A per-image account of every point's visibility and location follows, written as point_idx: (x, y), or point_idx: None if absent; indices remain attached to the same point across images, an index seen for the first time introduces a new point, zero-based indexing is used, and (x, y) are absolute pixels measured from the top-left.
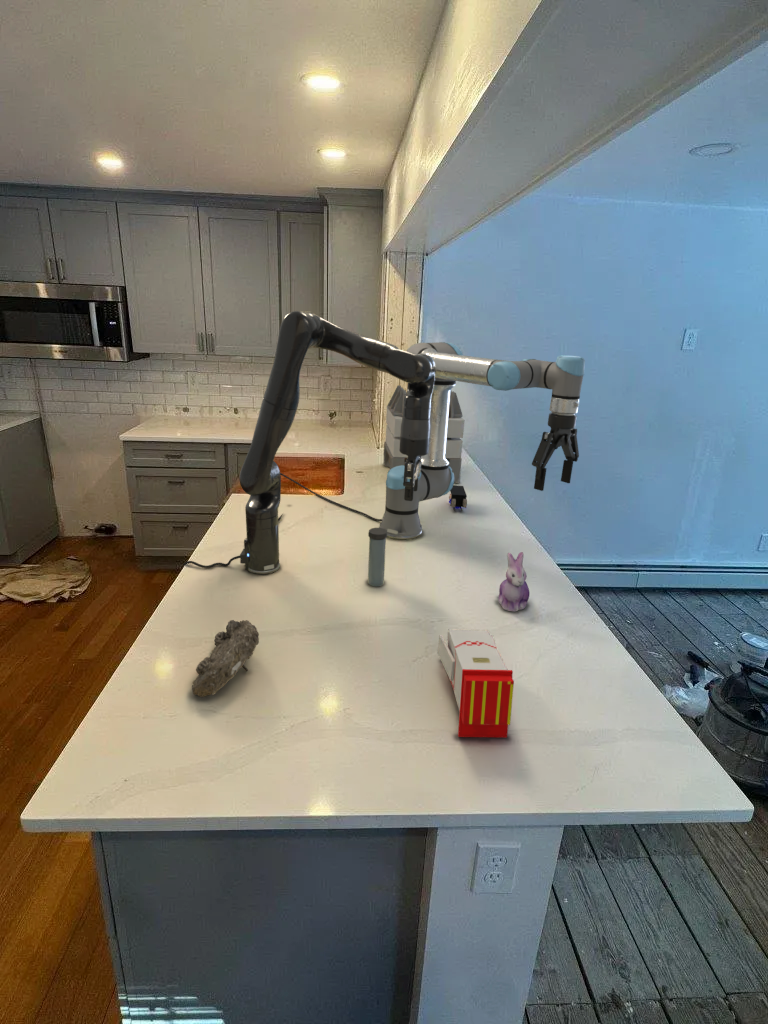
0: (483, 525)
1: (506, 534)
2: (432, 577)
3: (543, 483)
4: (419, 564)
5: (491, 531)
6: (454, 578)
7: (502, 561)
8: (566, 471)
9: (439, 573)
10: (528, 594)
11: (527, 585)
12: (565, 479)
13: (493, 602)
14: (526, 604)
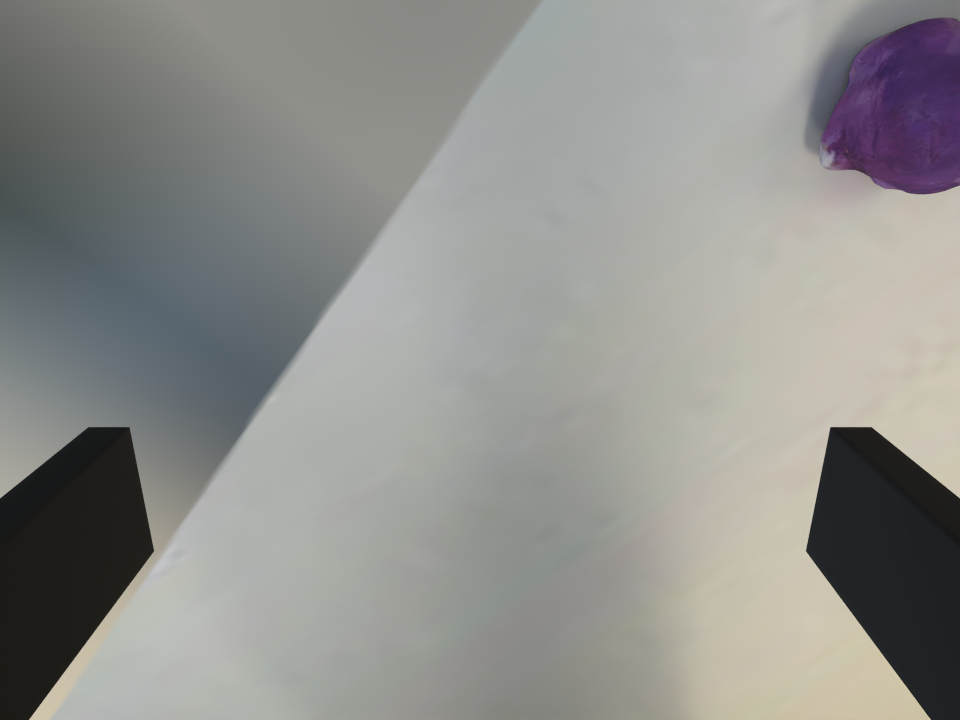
0: (256, 713)
1: (239, 599)
2: None
3: (931, 488)
4: None
5: (278, 655)
6: None
7: (524, 422)
8: (32, 610)
9: None
10: (932, 20)
11: (914, 55)
12: (116, 510)
13: None
14: (888, 34)
